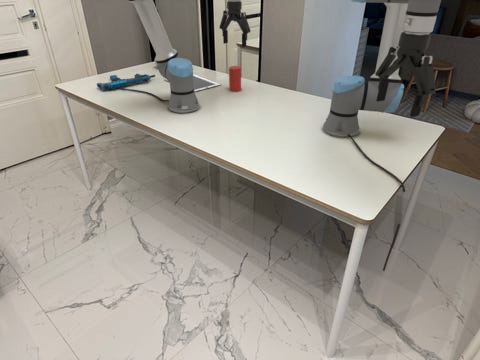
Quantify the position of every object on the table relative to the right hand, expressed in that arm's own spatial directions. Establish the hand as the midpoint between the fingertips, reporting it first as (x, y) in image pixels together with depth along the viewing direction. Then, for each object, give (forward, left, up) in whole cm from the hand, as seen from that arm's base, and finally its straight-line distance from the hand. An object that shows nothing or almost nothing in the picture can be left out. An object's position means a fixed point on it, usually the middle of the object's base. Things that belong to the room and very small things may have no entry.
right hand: (396, 108), depth 102 cm
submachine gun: (+150, +60, -26) cm, 164 cm away
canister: (+109, +4, -26) cm, 112 cm away
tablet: (+132, +23, -26) cm, 137 cm away
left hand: (+109, +4, -1) cm, 109 cm away
